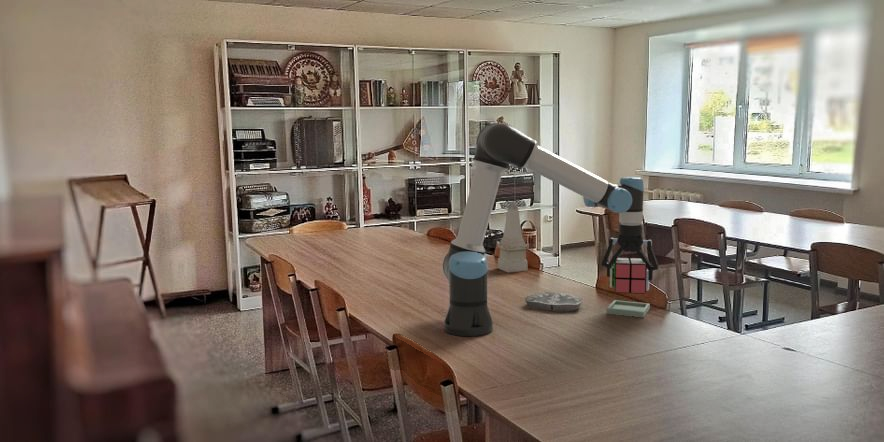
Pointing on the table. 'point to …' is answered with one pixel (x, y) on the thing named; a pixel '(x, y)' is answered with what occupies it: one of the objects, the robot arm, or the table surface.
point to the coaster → (628, 308)
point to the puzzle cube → (630, 276)
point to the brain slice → (553, 301)
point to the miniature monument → (512, 244)
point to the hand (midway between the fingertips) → (629, 288)
